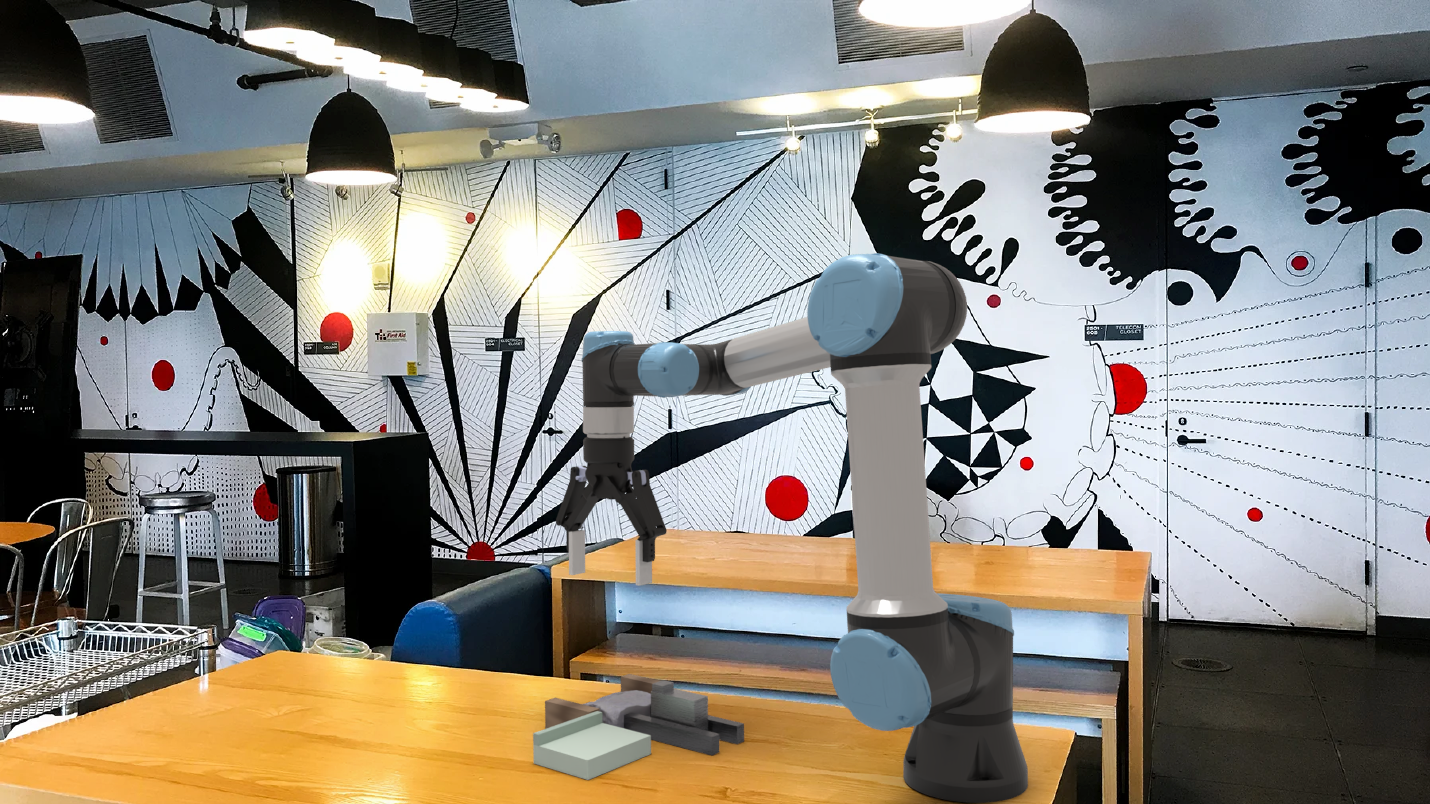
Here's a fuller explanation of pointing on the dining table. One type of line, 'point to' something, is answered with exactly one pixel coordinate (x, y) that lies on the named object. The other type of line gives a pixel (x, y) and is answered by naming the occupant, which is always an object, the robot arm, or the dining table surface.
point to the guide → (687, 732)
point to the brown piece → (568, 710)
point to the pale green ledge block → (588, 746)
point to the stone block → (622, 706)
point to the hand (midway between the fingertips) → (609, 579)
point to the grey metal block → (679, 706)
